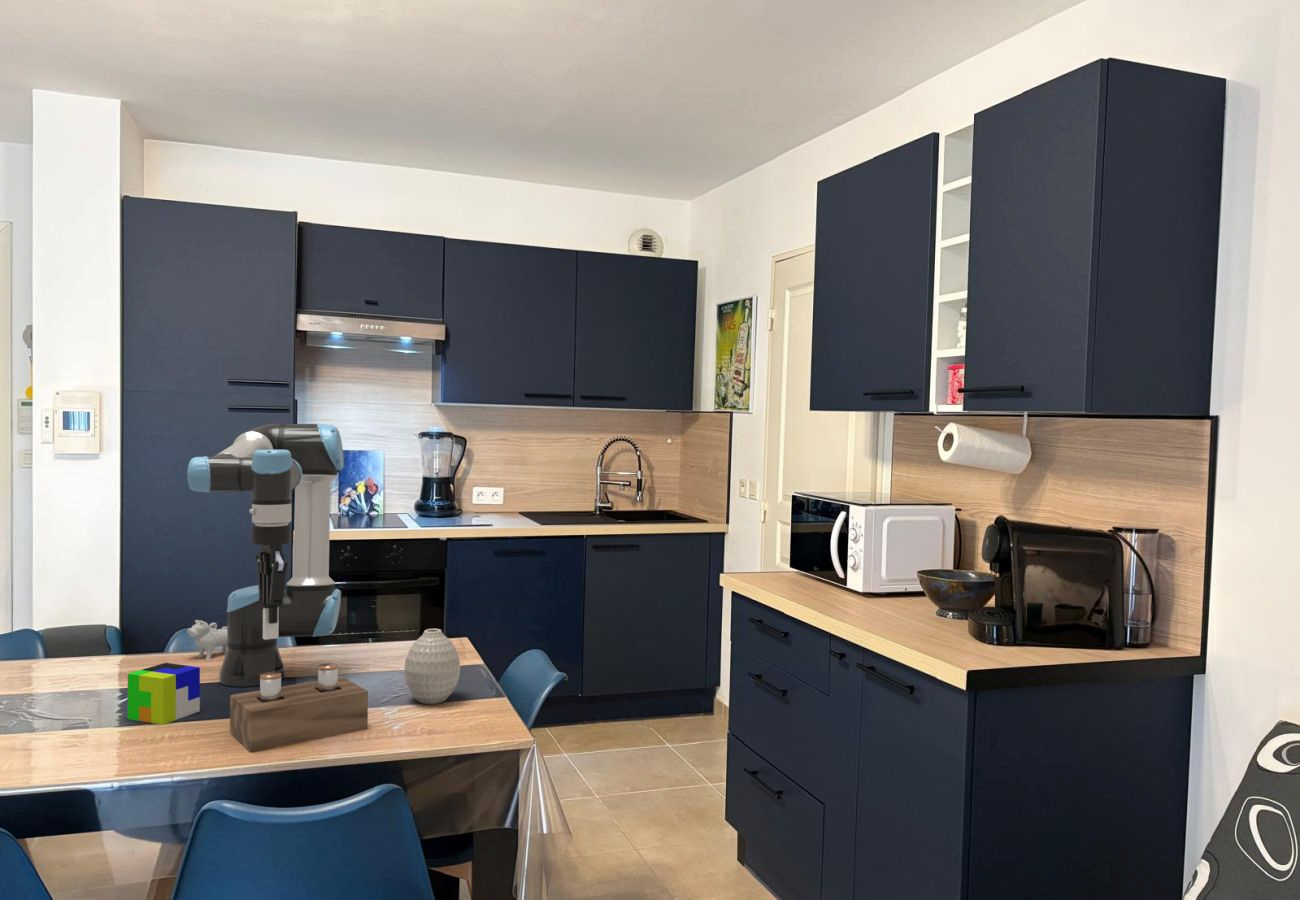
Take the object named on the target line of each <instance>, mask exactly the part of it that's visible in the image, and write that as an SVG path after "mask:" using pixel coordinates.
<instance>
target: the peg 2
mask: <svg viewBox="0 0 1300 900" xmlns="http://www.w3.org/2000/svg"><path fill="white" fill-rule="evenodd" d="M317 667H318V668H317V669H318V670H317V677H318V679H317V681H318V691H319V692H321V693H323V692H328V691H334V690H338V677H339V664H338V663H337V662H335V663H334V662H325V663H321V664H318V666H317Z"/></svg>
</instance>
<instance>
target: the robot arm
mask: <svg viewBox="0 0 1300 900" xmlns="http://www.w3.org/2000/svg"><path fill="white" fill-rule="evenodd" d="M343 449H344V448H343V441H342V437H341V433H340V430H339V429H338V428H337V427H336V426H335V425H333V424H322V423H269V424H266V425H265V424H264V425H261V426H259V427H255V428H252V429H249V430H246V431H245V432H243V433H241V434H239V436H237V437H236V438H235V440H234V441H233V444H232V445H230V446H229V447H227V448H225V449H224V450H222V451H220V452H219V453H217V454H216V455H213V456H207V455H204V456H195V457H193V458H191V459H190V460H189V463H188V466H187V474H186V475H187V484H188V487H189V489H190V490H192V491H193V492H201V493H206V494H207V493H208V494H209V493H251V508H250V509H249V510H248V511H249V514H251V523H252V524H255V525H252V527H251V543H252V544H253V545H256V546H260V549H259V550H260V551H259V552H258V554H256V555H255V557H254V558H255V562H256V563H255V564H256V571H257V584H258V585H251V586H247V587H243V588H239V589H236V590H234V591H232V592H231V593H230V594H229V595H228V598H227V609H226V615H227V617H226V618H227V619H226V620H227V621H226V622H227V623H226V624H227V625H226V627H227V648H226V653H225V656H224V659H223V662H222V665H221V668H220V671H219V683H220V684H222V685H224V686H228V687H255V686H260V675H261V674H262V673H266V672H280V673H281V680H282V679H284V677H285V673H286V672H285V669H286V668H285V664H284V662H283V660H282V656H281V653H280V650H279V648H278V639H279V638H289V637H291V638H292V637H313V638H316V637H323V636H328V635H329V636H330V635H331V634H333V632H334V631H335V629H336V627H337V623H338V620H339V614H340V609H341V601H342V599H341V597H342V591H341V590H340V589H338V588H335V586H336V584H335V581H334V580H333V579H332V578H331V577H330V572H329V571H330V533H331V532H330V530H331V529H330V528H331V527H330V524H331V523H330V522H331V521H330V520H331V519H330V518H331V484H332V482H333V481H334V480H335V479H336V478H337V477H338V471H340V470H342V469H344V465H345V464H344V459H345V458H344V450H343ZM293 490H294V516H293V517H294V519H293V522H294V523H293V525H294V526H293V527H294V528H293V562H292V563H293V565H292V566H293V567H292V569H293V570H292V577H291V578H290V580H288V581H287V582H286V574H287V567H288V564H289V563H288V560H285V553H284V552H283V547H282V545H285V544H286V545H287V544H289V543H291V541H292V526H291V525H290V524H289V523H291V522H292V491H293ZM285 583H286V587H285ZM285 588H286V589H285Z"/></svg>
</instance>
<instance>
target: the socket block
mask: <svg viewBox="0 0 1300 900" xmlns="http://www.w3.org/2000/svg"><path fill="white" fill-rule="evenodd" d="M368 695H369V691H368V690H366V689H365V688H363V687H361V686H360V685H358V684H356V683H355V682H353V681H351V680H349V679H348V678H346V677H344V676H338V690H334V691H328V692H323V693H321V692H319V691H318V680H313V681H308V682H301V683H297V684H296V683H295V684H291V685H285V686H284V685H283V686H281V700H277V701H271V702H265V703H262V702H261V701H260V689H258V690H254V691H248V692H242V693H236V694H231V695H229V697H230V698H229V734H230V736H233V738H234V739H236V741H238V742H239V743H240V744H241V745H242V746H243V747H244V748H245V749H246V748H247V749H246V750H247V751H248V752H249V753H253V752H257V751H258V752H259V751H263V750H267V749H274V748H278V747H277V746H279V747H283V746H282V745H284V746H288V745H292V744H291V743H293V744H297V742H298V743H301V742H306V741H312V740H317V739H322V738H326V737H332V736H336V735H341V734H342V735H343V734H347V733H351V732H356V731H361V730H366V729H369V726H368V724H369V723H368V721H369V718H368V717H369V716H368V715H369V714H368V713H369V710H368V709H369V696H368ZM287 744H288V745H287ZM273 747H274V748H273Z"/></svg>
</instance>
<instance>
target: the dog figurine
mask: <svg viewBox="0 0 1300 900" xmlns="http://www.w3.org/2000/svg"><path fill="white" fill-rule="evenodd" d="M194 622H195V624H193V625H192V626H191V627H188V628H187V629H186V632H187V634H188V635H189V636H190V637H192V638H195V644H196V645H197V646H198V647H199V654H198V656H197V658H204V655H205V652H206V656H205V660H206V661H207V660H212V659H211V658H212V655H213V650H214V648H216V647H217V648H218V647H222V649H221V651H220V653H222V654H226V653H227V626H222V627H221V628H219V629H217V628H218V624H217V622H211V623H210V624H208V623H207V622H206V621H203V620H199V619H196V620H194Z"/></svg>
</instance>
